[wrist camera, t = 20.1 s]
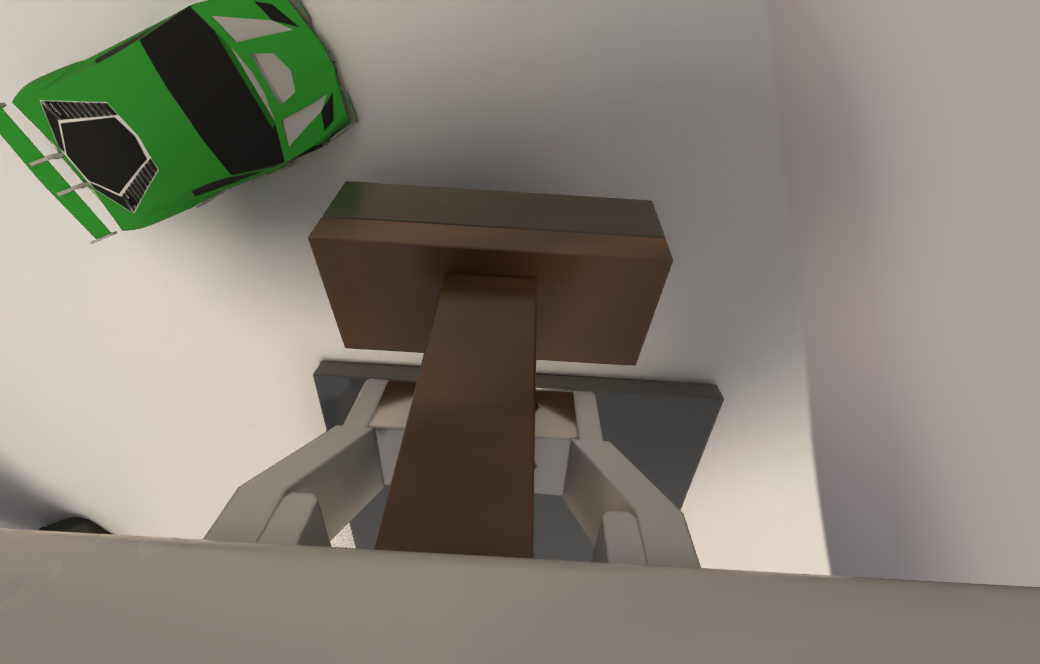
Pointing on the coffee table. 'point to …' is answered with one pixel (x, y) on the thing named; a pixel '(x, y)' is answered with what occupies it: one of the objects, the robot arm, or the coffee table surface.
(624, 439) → the slate board
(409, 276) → the brush
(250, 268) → the coffee table surface
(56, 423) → the coffee table surface
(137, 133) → the toy car
